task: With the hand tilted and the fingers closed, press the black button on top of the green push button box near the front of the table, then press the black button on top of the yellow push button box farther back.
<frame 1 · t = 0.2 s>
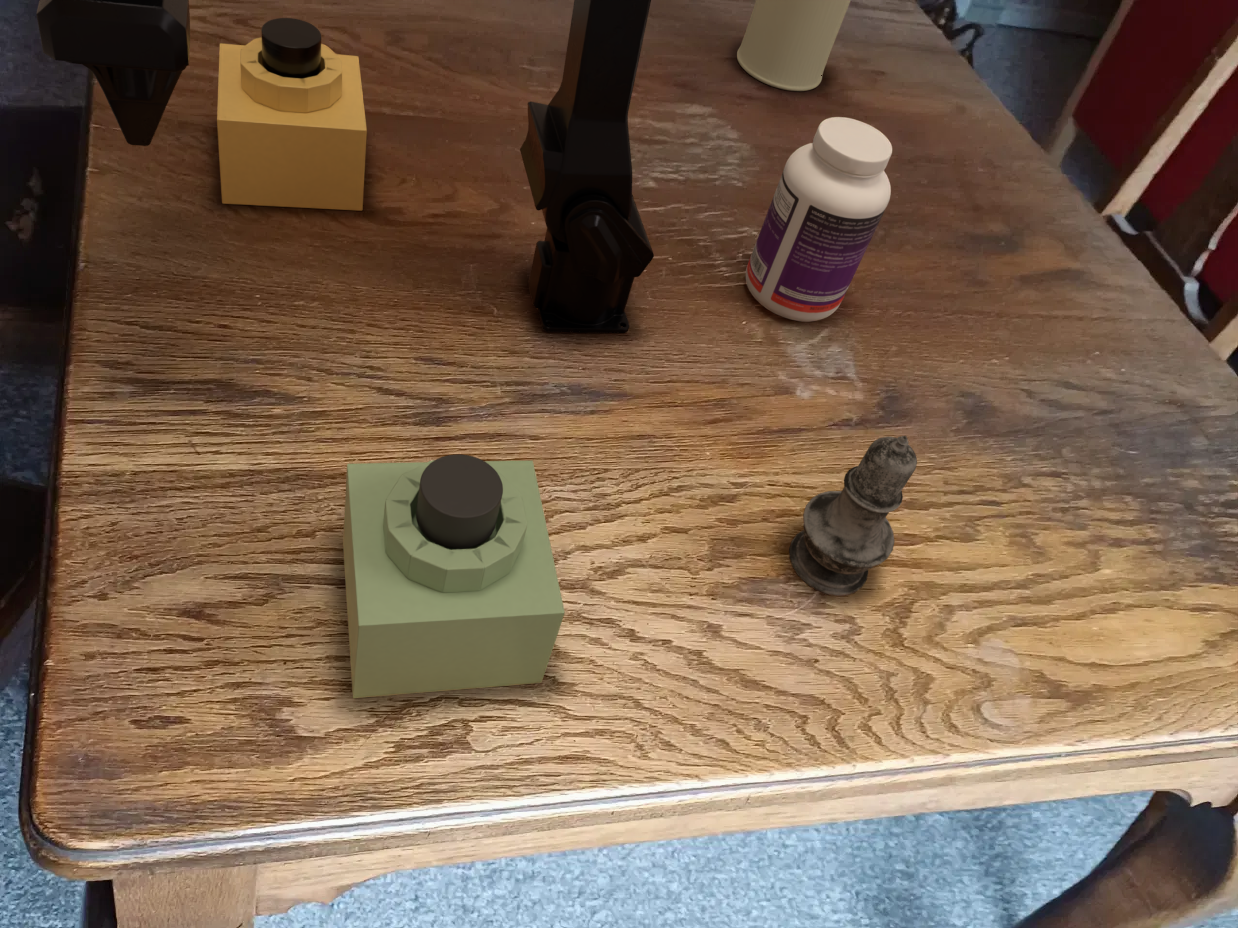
hand: (143, 96, 61), 15 cm above the table, tool pointing down, fingers open, 9 cm apart
pill bottle: (788, 296, 87), on the table
front button: (459, 501, 53), point 10 cm above the table, slide at 0.1 cm
back button: (291, 49, 76), point 10 cm above the table, slide at 0.1 cm
yellow push button box: (292, 167, 83), on the table
chess piece: (827, 563, 69), on the table
green push button box: (439, 610, 60), on the table
can: (778, 69, 112), on the table
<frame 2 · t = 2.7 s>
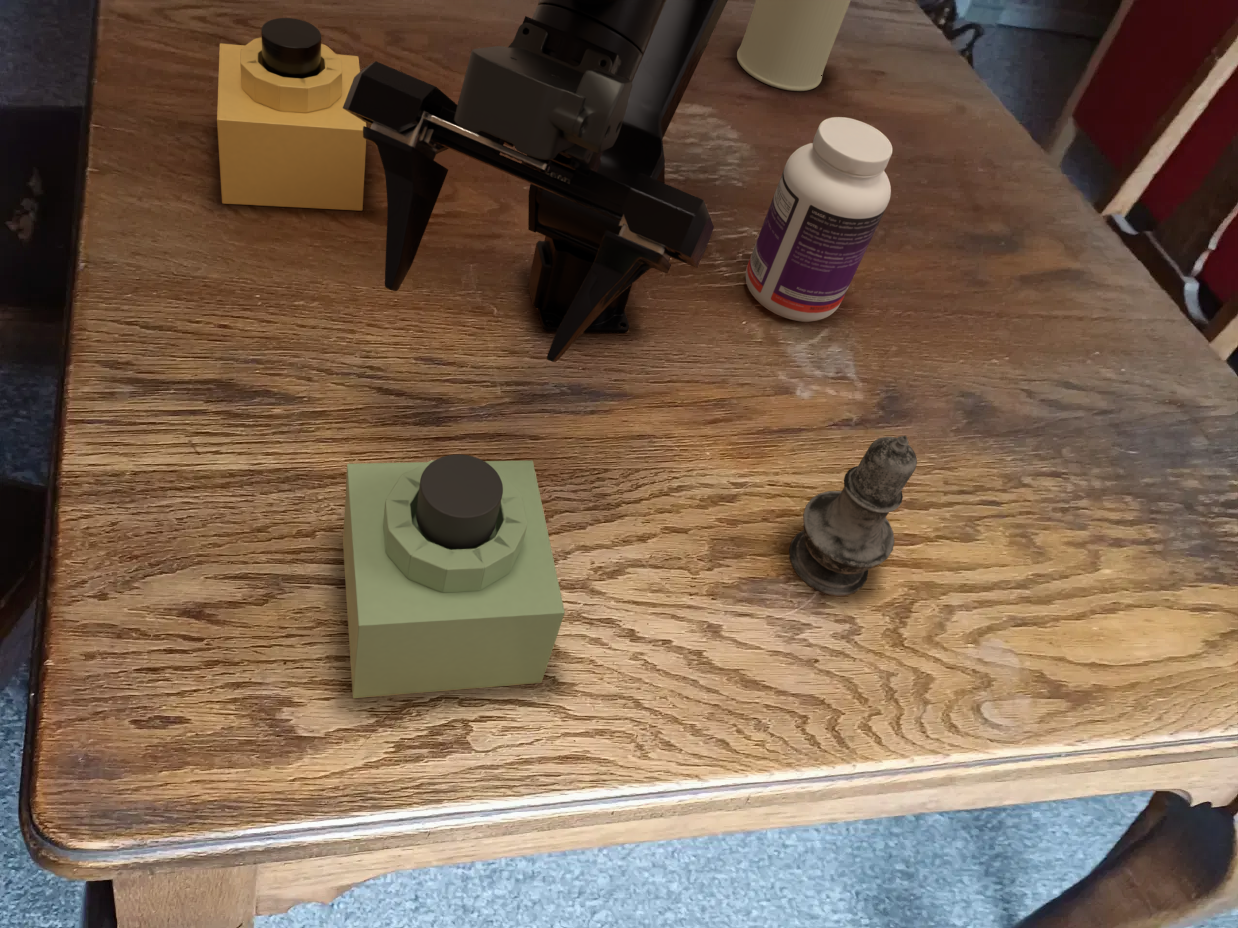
hand: (470, 325, 55), 14 cm above the table, tool tilted 40°, fingers open, 9 cm apart
nothing on the table moved.
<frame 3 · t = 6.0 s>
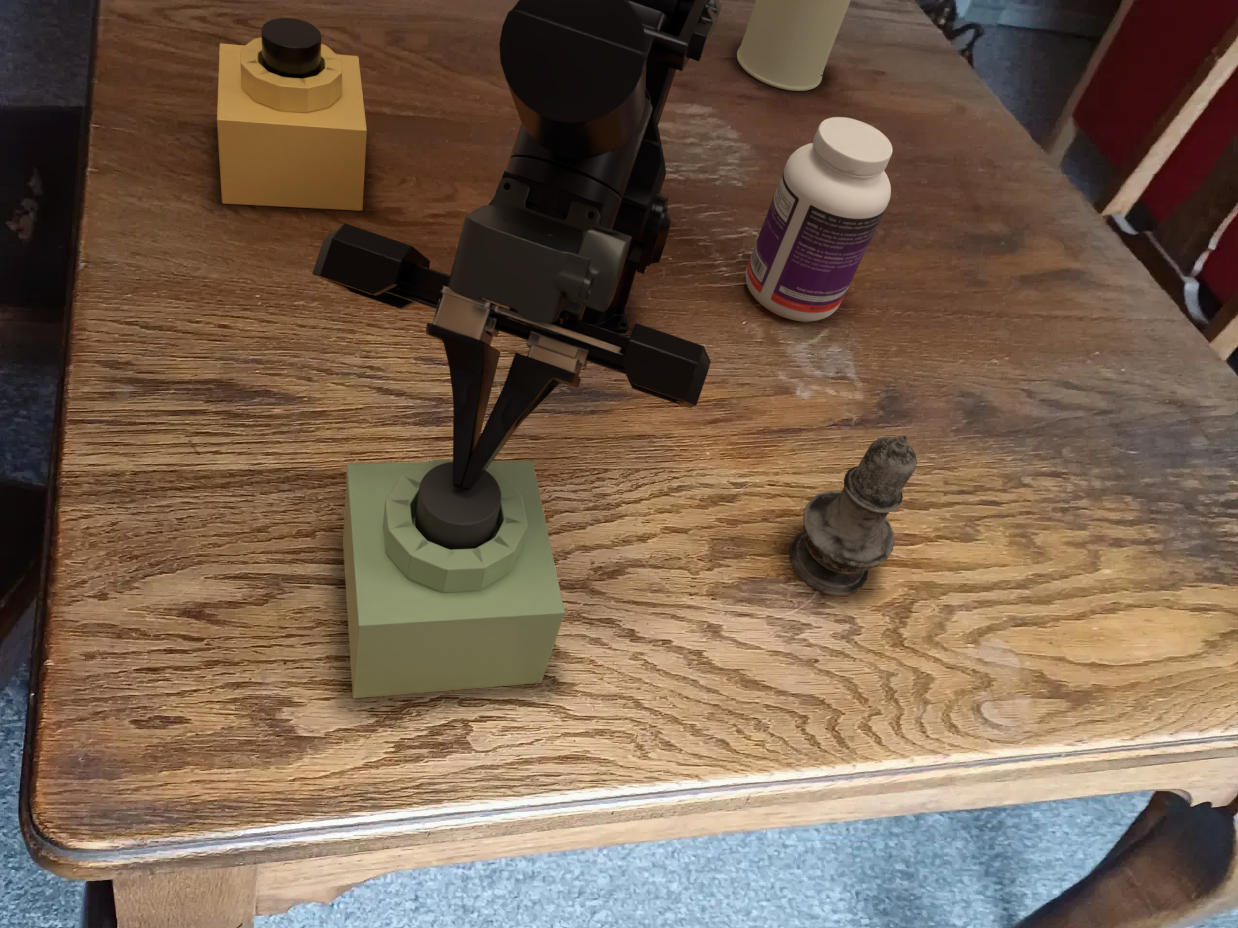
hand: (461, 488, 52), 11 cm above the table, tool tilted 45°, fingers closed, pressing on front button
front button: (457, 508, 53), point 9 cm above the table, slide at -0.5 cm, touching gripper
everything else where it was.
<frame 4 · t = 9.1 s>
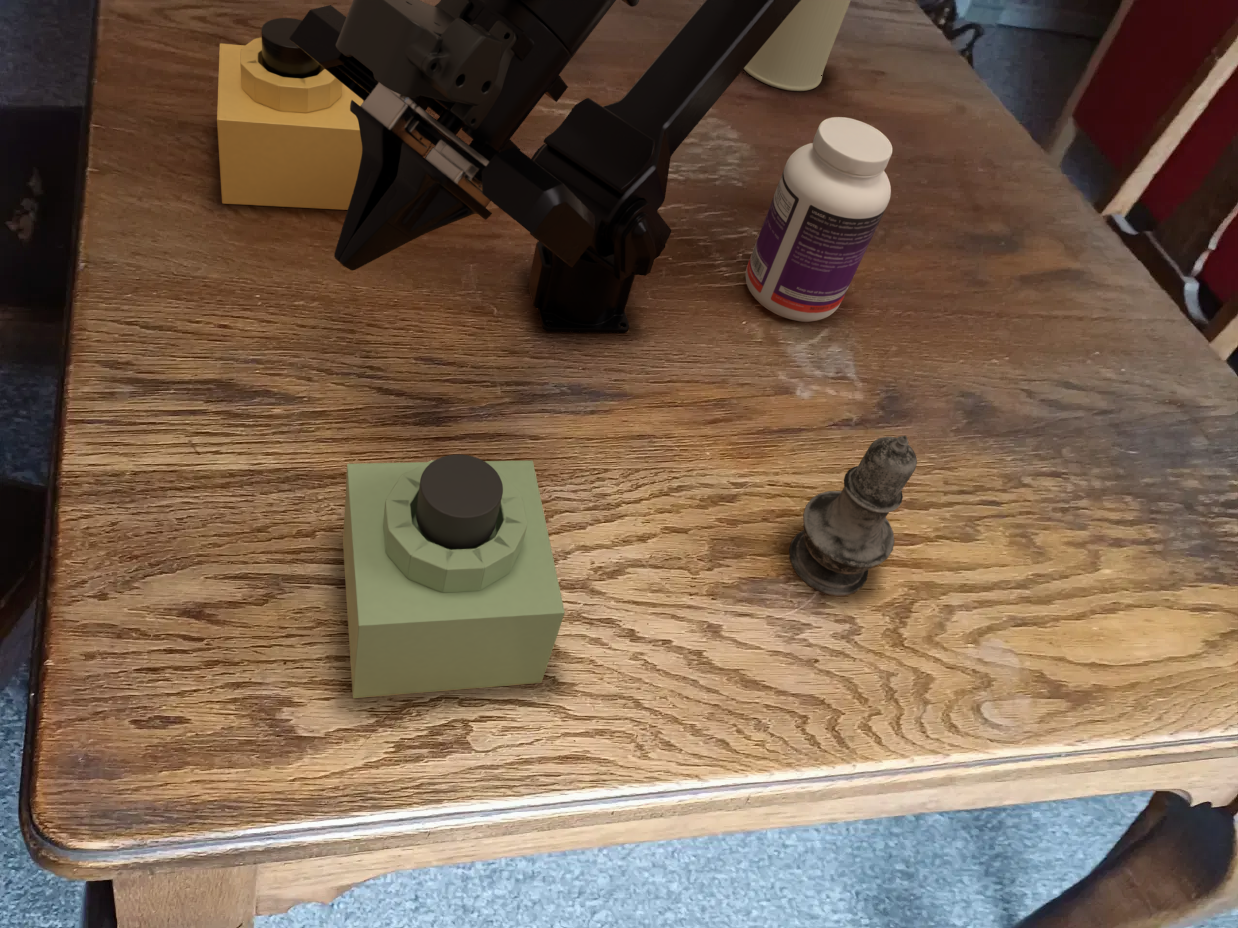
hand: (343, 264, 56), 14 cm above the table, tool tilted 45°, fingers closed
front button: (459, 501, 53), point 10 cm above the table, slide at 0.1 cm
everything else where it was.
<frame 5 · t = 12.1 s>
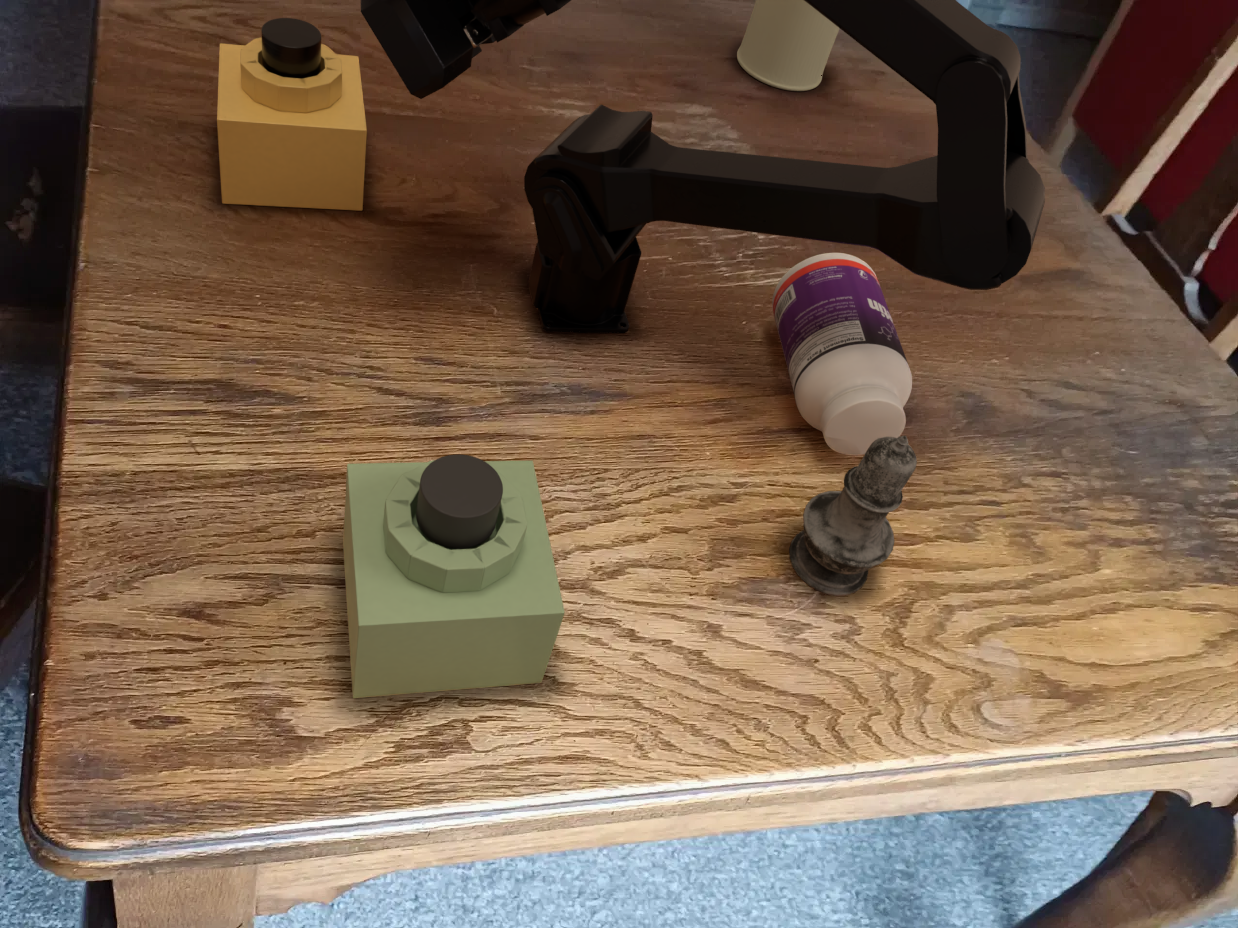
hand: (391, 44, 72), 14 cm above the table, tool tilted 45°, fingers closed
pill bottle: (821, 286, 81), point 4 cm above the table
everything else where it was.
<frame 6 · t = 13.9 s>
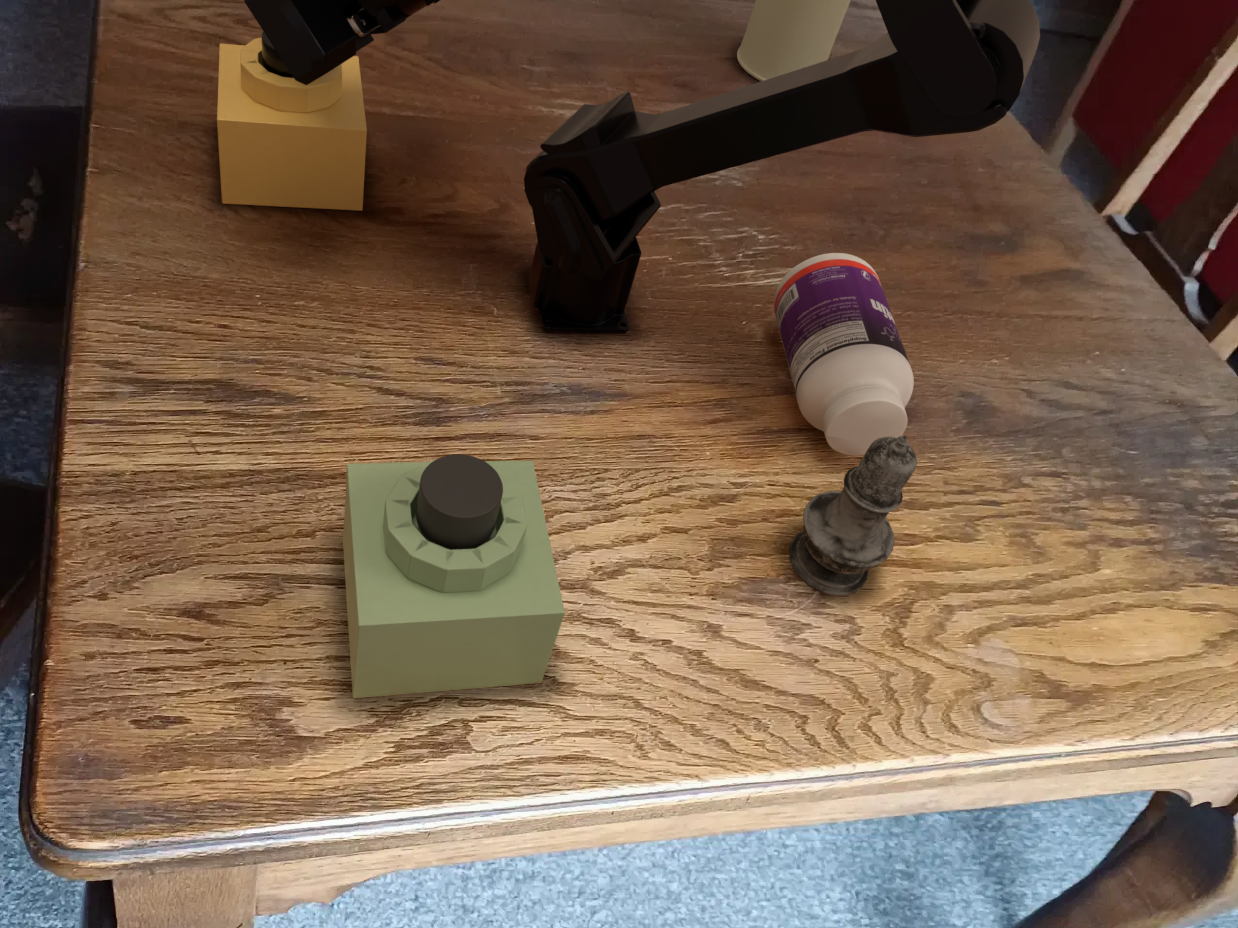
hand: (291, 34, 75), 11 cm above the table, tool tilted 45°, fingers closed, pressing on back button
back button: (291, 55, 76), point 9 cm above the table, slide at -0.4 cm, touching gripper
everything else where it was.
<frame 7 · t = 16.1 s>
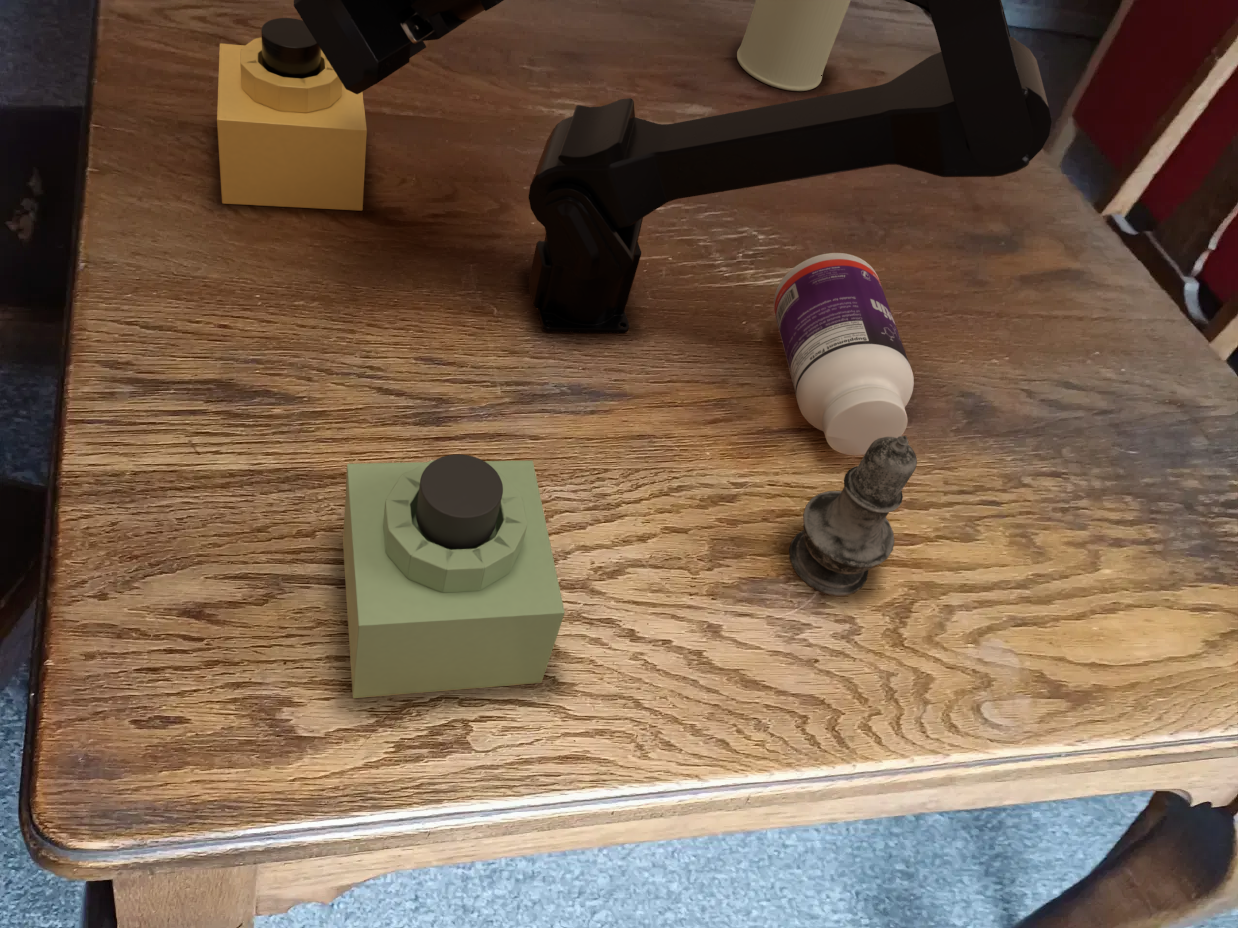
hand: (338, 40, 72), 13 cm above the table, tool tilted 45°, fingers closed
back button: (291, 49, 76), point 10 cm above the table, slide at 0.1 cm
everything else where it was.
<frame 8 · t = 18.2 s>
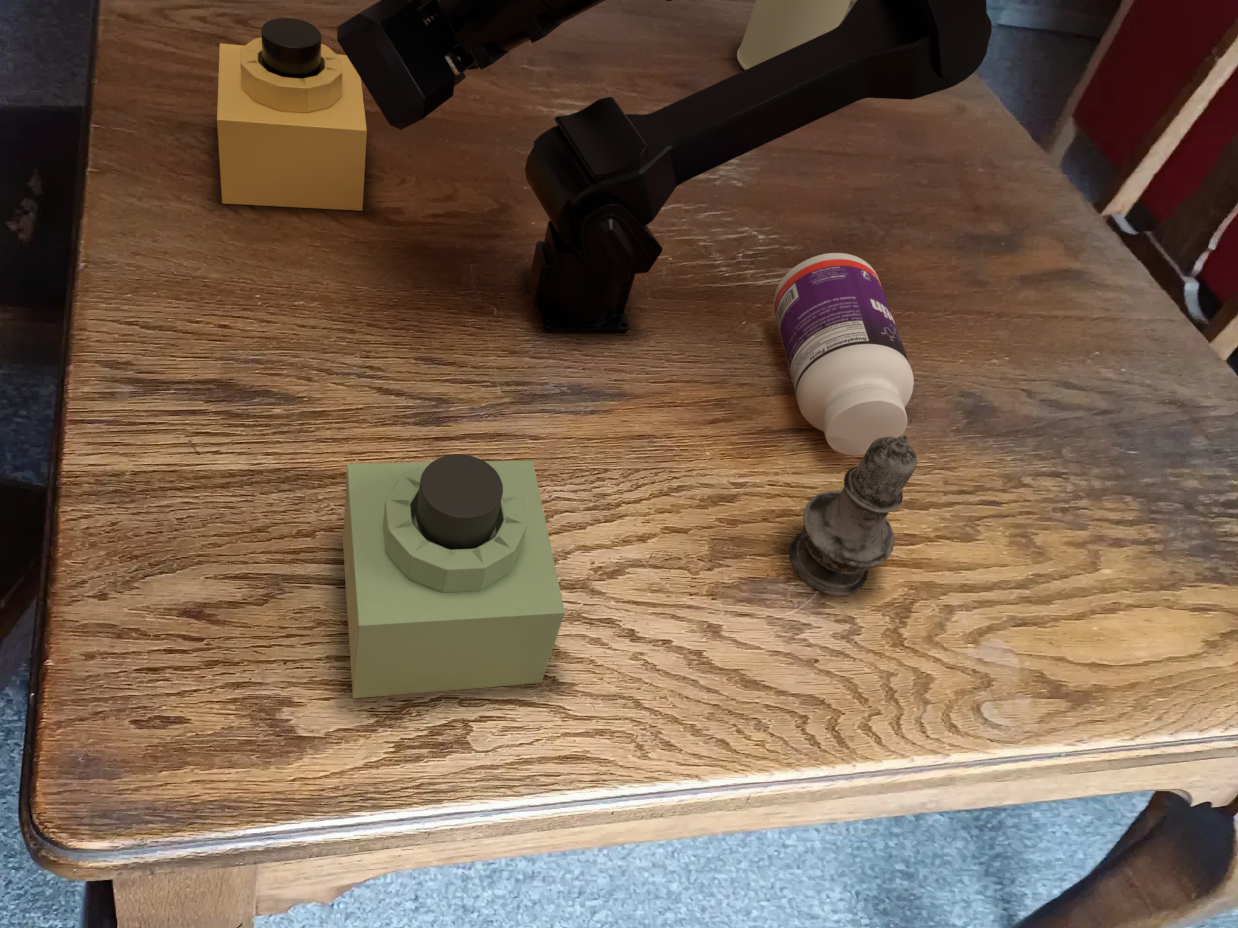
hand: (372, 69, 70), 14 cm above the table, tool tilted 45°, fingers closed
nothing on the table moved.
at the end: front button pushed in 1.4 cm at the most during the clip, back to where it started at the end; back button pushed in 1.4 cm at the most during the clip, back to where it started at the end; back button slide at 0.1 cm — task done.
